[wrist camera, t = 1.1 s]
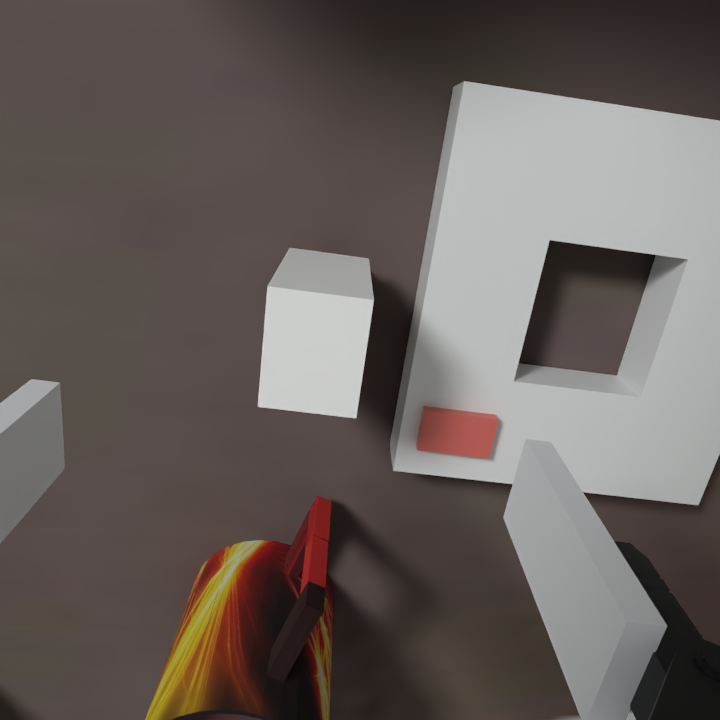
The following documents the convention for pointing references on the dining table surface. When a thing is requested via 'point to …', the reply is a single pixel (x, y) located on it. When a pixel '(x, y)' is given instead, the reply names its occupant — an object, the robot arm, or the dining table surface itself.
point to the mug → (255, 633)
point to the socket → (520, 282)
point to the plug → (316, 333)
